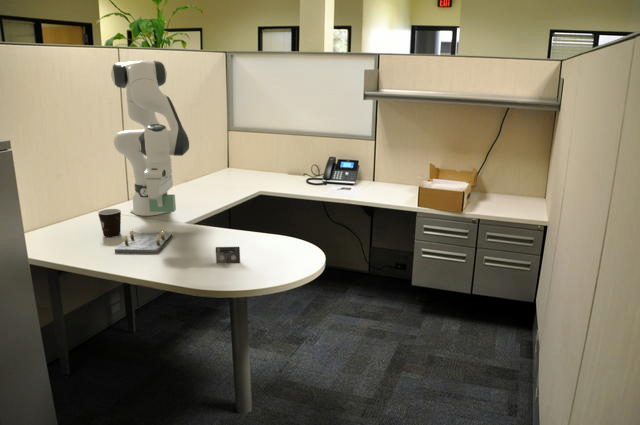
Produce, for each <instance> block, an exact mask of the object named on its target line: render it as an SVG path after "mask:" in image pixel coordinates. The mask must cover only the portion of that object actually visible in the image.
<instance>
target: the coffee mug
mask: <svg viewBox="0 0 640 425" xmlns="http://www.w3.org/2000/svg"><path fill="white" fill-rule="evenodd" d="M97 213H98V218H99V222H100V225H101V226H100V227H101V230H102V235H103V237H104V238H117V237H119V236H121V229H122V228H121V224H122V223H121V219H122V218H121V217H122V216H121V214H122V210H121V209H119V208H107V209H102V210H99V211H98V212H97Z"/></svg>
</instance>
